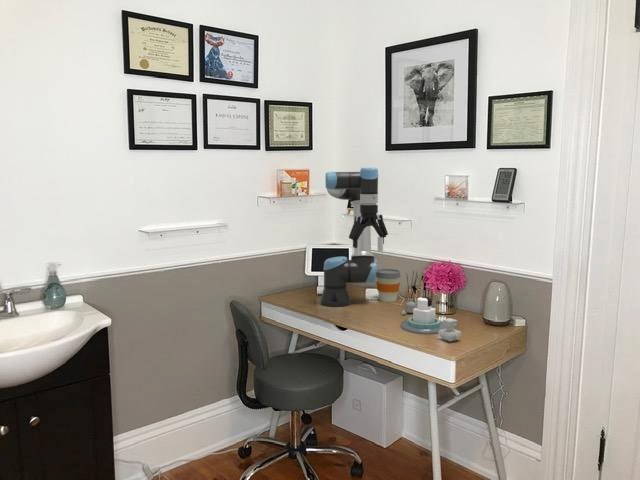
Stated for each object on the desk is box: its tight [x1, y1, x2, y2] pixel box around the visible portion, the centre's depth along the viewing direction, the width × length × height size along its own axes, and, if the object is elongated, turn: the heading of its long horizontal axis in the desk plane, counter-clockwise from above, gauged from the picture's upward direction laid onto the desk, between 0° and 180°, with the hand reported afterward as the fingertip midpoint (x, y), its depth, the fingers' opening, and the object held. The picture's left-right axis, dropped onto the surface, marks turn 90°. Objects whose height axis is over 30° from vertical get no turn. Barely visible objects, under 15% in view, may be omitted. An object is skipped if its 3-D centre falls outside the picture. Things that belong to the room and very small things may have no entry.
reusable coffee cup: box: [375, 268, 401, 303], centre depth 279 cm, size 13×12×15 cm
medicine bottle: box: [412, 296, 437, 324], centre depth 231 cm, size 7×7×12 cm
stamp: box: [437, 317, 463, 342], centre depth 215 cm, size 9×7×8 cm
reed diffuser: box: [400, 270, 419, 316], centre depth 252 cm, size 10×7×20 cm
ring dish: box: [400, 316, 447, 335], centre depth 232 cm, size 20×20×3 cm
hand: (368, 253), depth 231 cm, fingers open, 13 cm apart
